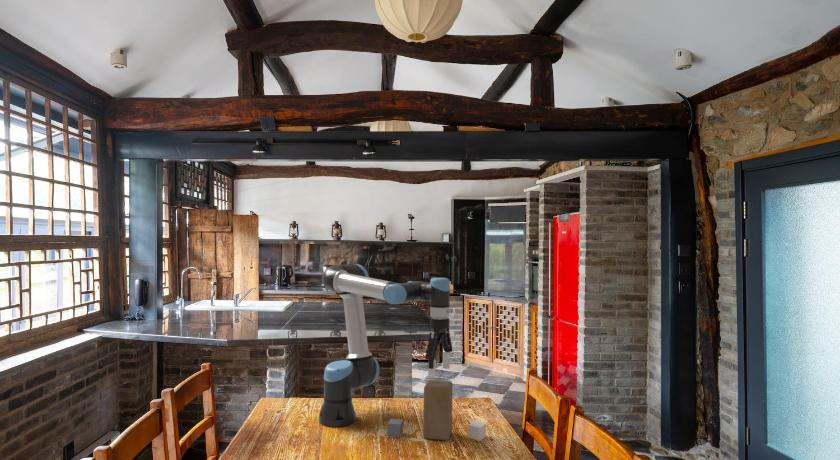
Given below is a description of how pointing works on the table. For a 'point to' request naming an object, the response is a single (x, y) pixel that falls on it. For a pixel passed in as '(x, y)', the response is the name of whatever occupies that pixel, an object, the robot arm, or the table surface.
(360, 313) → the robot arm
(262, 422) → the table surface
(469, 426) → the white cube
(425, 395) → the block
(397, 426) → the slate cube
